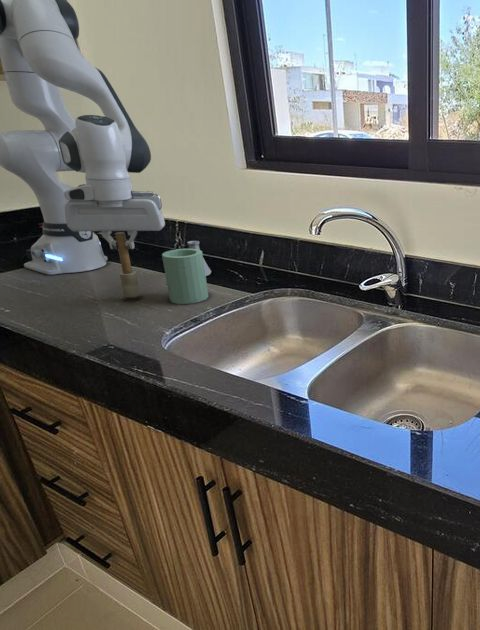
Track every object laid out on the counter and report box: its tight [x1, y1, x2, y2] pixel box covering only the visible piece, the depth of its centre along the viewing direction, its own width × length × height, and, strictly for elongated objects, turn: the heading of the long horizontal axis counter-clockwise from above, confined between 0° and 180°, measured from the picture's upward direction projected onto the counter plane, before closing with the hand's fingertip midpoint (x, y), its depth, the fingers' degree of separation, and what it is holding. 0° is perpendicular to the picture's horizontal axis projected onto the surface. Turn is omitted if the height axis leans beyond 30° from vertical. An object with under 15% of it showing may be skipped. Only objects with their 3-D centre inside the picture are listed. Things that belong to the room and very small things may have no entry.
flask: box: [186, 240, 212, 277], centre depth 139 cm, size 7×7×10 cm
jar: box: [161, 248, 209, 305], centre depth 120 cm, size 9×9×12 cm
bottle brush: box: [114, 231, 141, 298], centre depth 117 cm, size 4×4×16 cm
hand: (122, 248), depth 115 cm, fingers closed on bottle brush, 2 cm apart
